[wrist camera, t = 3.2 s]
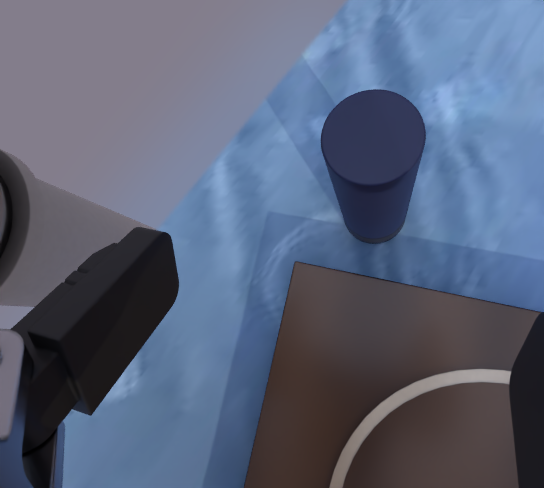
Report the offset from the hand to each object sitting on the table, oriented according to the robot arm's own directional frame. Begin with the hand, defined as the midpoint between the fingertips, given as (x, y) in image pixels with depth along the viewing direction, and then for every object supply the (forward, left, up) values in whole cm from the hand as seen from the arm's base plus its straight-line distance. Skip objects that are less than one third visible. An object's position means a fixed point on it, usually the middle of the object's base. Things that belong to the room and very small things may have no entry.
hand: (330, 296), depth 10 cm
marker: (0, +5, -11) cm, 12 cm away
